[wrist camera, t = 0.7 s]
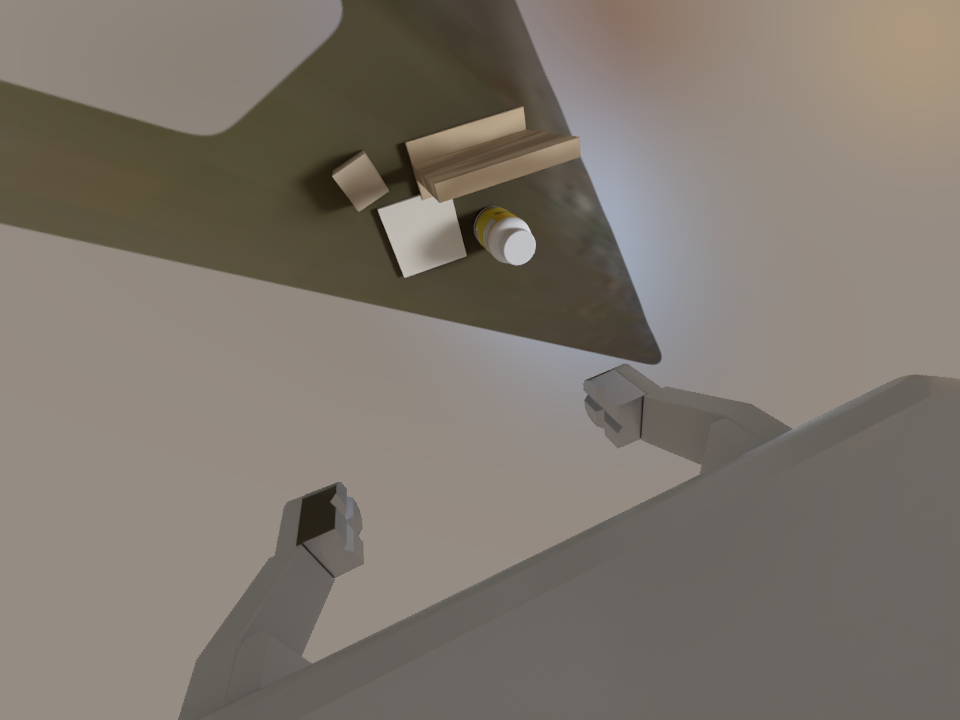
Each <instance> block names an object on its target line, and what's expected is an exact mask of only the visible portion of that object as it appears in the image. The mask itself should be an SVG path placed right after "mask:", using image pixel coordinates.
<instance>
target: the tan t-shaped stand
mask: <svg viewBox="0 0 960 720" xmlns="http://www.w3.org/2000/svg"><path fill="white" fill-rule="evenodd" d="M405 146H406V149H407V152H408V155H409V158H410V162H411V165H412V168H413V171H414V175H415V178H416V181H417V184H418V188H419V191H420V194H421V195H422V198H423V200H425V199H428V198H431V197H434V198H435V199H436V200H437V201H438V202H439V203H442V202H445V201H448V200H451V199H454V198H457V197H460V196H463V195H466V194H469V193H472V192H475V191H478V190H481V189H484V188H487V187H490V186H493V185H496V184H499V183H502V182H505V181H509V180H512V179H515V178H518V177H521V176H524V175H527V174H530V173H533V172H536V171H539V170H542V169H545V168H548V167H551V166H554V165H557V164H560V163H563V162H566V161H569V160H572V159H575V158H578V157H580V137H575V136H568V135H561V134H554V133H547V132H540V131H533V130H526V126H525V117H524V108H523V107H518V108H514V109H511V110H508V111H504V112H501V113H498V114H495V115H491V116H488V117H485V118H482V119H478V120H475V121H472V122H468V123H465V124H462V125H459V126H455V127H452V128H449V129H446V130H442V131H439V132H436V133H433V134H429V135H426V136H423V137H419V138H416V139H413V140H410V141H406V142H405Z"/></svg>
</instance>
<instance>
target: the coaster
mask: <svg viewBox="0 0 960 720" xmlns="http://www.w3.org/2000/svg"><path fill="white" fill-rule="evenodd" d="M377 210H378V212H379V215H380V217H381V220H382V222H383V225H384V228H385V230H386V233H387V235H388V238H389V240H390V243H391V245H392V248H393V250H394V253H395V255H396V258H397V260H398V263H399V265H400V268H401V271H402V273H403V276H404V278H406V277H408V276H411V275H414V274H417V273H420V272H423V271H426V270H428V269H431V268H434V267H437V266H440V265H443V264H446V263H448V262H451V261H454V260H457V259H460V258H463V257H466V256H467V255H466V251H465V247H464V243H463V239H462V235H461V231H460V227H459V223H458V219H457V216H456V212H455V208H454V204H453V200H452V199H451V200H448V201H445V202H442V203H439V202H438V201H437V200H436V199H435V198H434V197H431V198H428V199H425V200H423V198H422V195H421V194H419V195H416V196H413V197H410V198H407V199H403V200H400V201H397V202H394V203H391V204H388V205H385V206H382V207H379V208H377Z"/></svg>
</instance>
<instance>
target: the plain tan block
mask: <svg viewBox="0 0 960 720" xmlns="http://www.w3.org/2000/svg"><path fill="white" fill-rule="evenodd" d="M332 177H333V178H334V179H335V181H336V182H337V183H338V185H339V186H340V188H341V189H342V190H343V192H344V193H345V194H346V196H347V197H348V198H349V200H350V201H351V202H352V204H353V205H354V206H355V208H356V209H357V210H358V212H359V211H361V210H362V209H364V208H366V207H367V206H368V205H370V204H371V203H373V202H374V201H376V200H377V199H379V198H380V197H382V196H383V195H384V194H386V193H387V192H389V190H388V188H387V186H386V184H385V183H384V181H383V180H382V178H381V177H380V175H379V173H378V172H377V170H376V169H375V167H374V166H373V164H372V163H371V161H370V160H369V158H368V157H367V155H366V154H365V152H364V151H363V150H362V151H360V152H359V153H357V154H356V155H354V156H353V157H352V158H350V159H349V160H347V161H346V162H345V163H343V164H342V165H340V166H339V167H337V168H336V169H335V170H333V174H332Z"/></svg>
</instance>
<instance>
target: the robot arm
mask: <svg viewBox="0 0 960 720" xmlns="http://www.w3.org/2000/svg"><path fill="white" fill-rule="evenodd" d="M583 385H584V391H585V392H586V393H587V394H588V395H587V397H586V399H585V408H586V411H587V413H588V416H589V417H590V419H591V420H592V421H593V422H594V424H595V425H596V426H598V427H601V428H605V435H606V437H607V438H608V439H610V441H611V442H612V443H613V444H614V445H615V446H616V447H617V448H620V447H623V446H625V445H627V444H630V443H632V442H635V441H637V440H639V439H641V440H643V441H645V442H647V443H650V444H652V445H655V446H657V447H659V448H662V449H664V450H667V451H669V452H671V453H674V454H677V455H679V456H681V457H684V458H686V459H689V460H691V461H693V462H696V463H698V464H701V465H702V467H701V471H700V475H698V476H696V477H694V478H692V479H690V480H688V481H686V482H683V483H681V484H679V485H677V486H676V487H673V488H672V489H669V490H667V491H665V492H663V493H661V494H659V495H657V496H655V497H653V498H651V499H649V500H647V501H645V502H643V503H640V504H639V505H637V506H634V507H632V508H630V509H628V510H626V511H624V512H622V513H620V514H618V515H616V516H614V517H612V518H610V519H608V520H606V521H604V522H602V523H600V524H598V525H596V526H593V527H591V528H590V529H587V530H585V531H583V532H581V533H579V534H577V535H575V536H573V537H571V538H569V539H567V540H565V541H563V542H561V543H559V544H557V545H555V546H553V547H551V548H548V549H546V550H544V551H542V552H540V553H538V554H536V555H535V556H532V557H530V558H528V559H526V560H524V561H522V562H520V563H518V564H516V565H514V566H512V567H510V568H508V569H506V570H503V571H501V572H500V573H497V574H495V575H493V576H491V577H489V578H487V579H485V580H483V581H481V582H479V583H477V584H475V585H473V586H471V587H469V588H467V589H465V590H463V591H461V592H459V593H456V594H455V595H452V596H451V597H448V598H447V599H444V600H442V601H440V602H438V603H436V604H434V605H432V606H430V607H428V608H426V609H424V610H422V611H420V612H418V613H415V614H413V615H411V616H409V617H407V618H405V619H403V620H401V621H399V622H397V623H395V624H393V625H391V626H389V627H387V628H385V629H383V630H381V631H379V632H377V633H374V634H373V635H370V636H368V637H366V638H364V639H362V640H360V641H358V642H356V643H354V644H352V645H350V646H348V647H346V648H344V649H342V650H340V651H338V652H336V653H334V654H331V655H329V656H327V657H325V658H323V659H321V660H319V661H318V662H315V663H313V664H312V663H311V662H309V661H307V660H306V659H305V658H303V657H302V654H303V652H304V649H305V647H306V644H307V642H308V640H309V638H310V635H311V633H312V631H313V629H314V626H315V624H316V622H317V620H318V617H319V615H320V613H321V610H322V608H323V606H324V604H325V601H326V599H327V597H328V594H329V592H330V590H331V587H332V585H333V583H334V581H335V580H334V578H336V577H338V576H340V575H342V574H344V573H346V572H348V571H350V570H352V569H354V568H356V567H358V566H360V565H362V564H364V557H363V542H362V540H361V539H360V537H359V534H360V532H361V530H362V518H361V514H360V510H359V508H358V506H357V503H356V502H355V500H354V499H353V498H351V497H348V496H347V489H346V487H345V486H344V485H343V484H342V482H337V483H335V484H332V485H329V486H327V487H324V488H322V489H319V490H317V491H314V492H311V493H309V494H306V495H305V496H302V497H299V498H297V499H294V500H291V501H289V502H287V503H286V505H285V506H284V509H283V515H282V520H281V525H280V531H279V536H278V541H277V547H276V552H275V556H273V557H271V558H269V559H268V561H267V562H266V563H265V565H264V566H263V568H262V569H261V570H260V572H259V573H258V575H257V576H256V578H255V579H254V580H253V582H252V583H251V584H250V586H249V587H248V589H247V590H246V591H245V593H244V594H243V596H242V597H241V599H240V600H239V602H238V603H237V604H236V605H235V607H234V608H233V610H232V611H231V612H230V614H229V615H228V617H227V618H226V619H225V621H224V622H223V624H222V625H221V627H220V628H219V629H218V631H217V632H216V633H215V635H214V636H213V638H212V639H211V641H210V642H209V643H208V645H207V646H206V647H205V649H204V650H203V652H202V653H201V655H200V656H199V657H198V659H197V660H196V663H195V667H194V670H193V673H192V677H191V679H190V683H189V686H188V689H187V693H186V696H185V699H184V702H183V706H182V709H181V712H180V716H179V719H178V720H960V379H954V378H946V377H938V376H926V375H908V376H904V377H900V378H898V379H895V380H893V381H890V382H888V383H886V384H884V385H882V386H880V387H878V388H876V389H874V390H872V391H870V392H868V393H866V394H864V395H861V396H860V397H857V398H855V399H854V400H851V401H849V402H847V403H845V404H843V405H841V406H839V407H837V408H835V409H833V410H831V411H829V412H827V413H825V414H823V415H821V416H819V417H817V418H815V419H813V420H811V421H808V422H806V423H804V424H802V425H800V426H798V427H796V428H794V429H792V428H790V427H789V426H787V425H785V424H784V423H782V422H780V421H779V420H777V419H775V418H774V417H772V416H770V415H769V414H767V413H765V412H764V411H762V410H760V409H759V408H757V407H755V406H754V405H752V404H748V403H744V402H739V401H734V400H729V399H724V398H719V397H714V396H709V395H704V394H699V393H695V392H690V391H685V390H680V389H675V388H670V387H664V388H661V387H660V386H658V385H657V384H655V383H654V382H653V381H651V380H650V379H648V378H647V377H645V376H644V375H643V374H641V373H640V372H638V371H637V370H635V369H634V368H633V367H631V366H630V365H628V364H623V365H620V366H618V367H615V368H613V369H611V370H608V371H606V372H604V373H601V374H599V375H597V376H594V377H592V378H590V379H587V380H585V381H584V384H583Z"/></svg>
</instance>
